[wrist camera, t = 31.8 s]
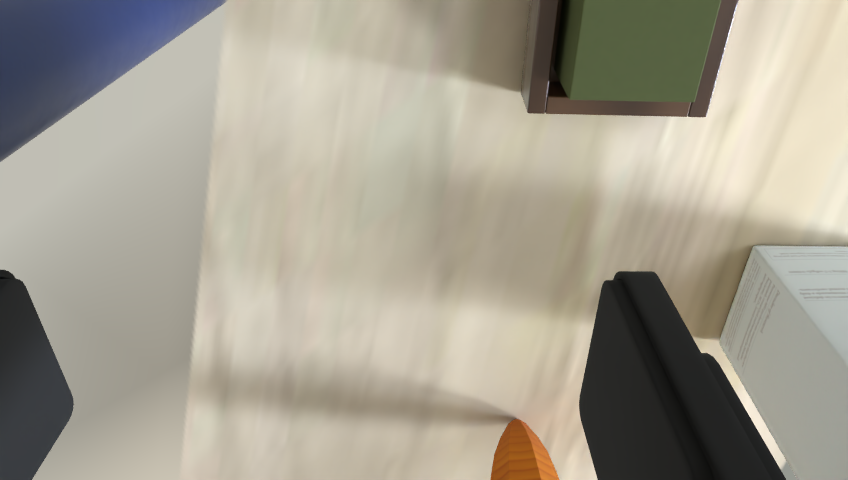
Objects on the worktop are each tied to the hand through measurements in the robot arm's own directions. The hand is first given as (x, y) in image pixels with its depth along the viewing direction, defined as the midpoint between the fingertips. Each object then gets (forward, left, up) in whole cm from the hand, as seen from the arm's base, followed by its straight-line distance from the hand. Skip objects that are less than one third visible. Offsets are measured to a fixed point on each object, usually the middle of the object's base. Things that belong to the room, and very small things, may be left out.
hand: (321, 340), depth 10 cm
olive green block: (+10, +1, -20) cm, 22 cm away
